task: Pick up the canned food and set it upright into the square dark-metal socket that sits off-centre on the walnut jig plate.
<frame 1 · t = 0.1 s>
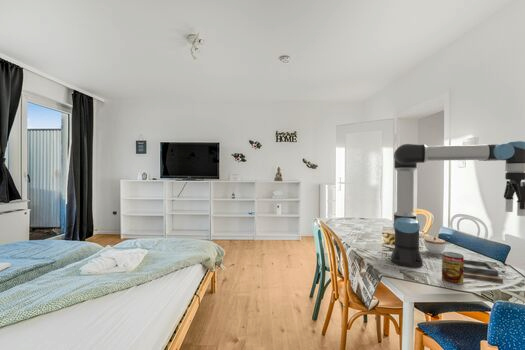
hand: (514, 213, 133), 28 cm above the table, tool pointing down, fingers open, 13 cm apart
lidded jar: (434, 252, 159), on the table
canned food: (452, 281, 119), on the table
jig: (471, 272, 128), on the table
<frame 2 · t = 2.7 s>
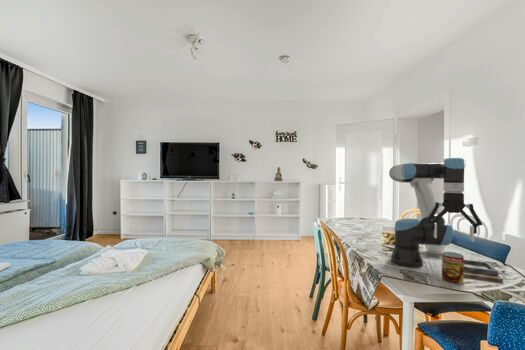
hand: (453, 239, 118), 19 cm above the table, tool pointing down, fingers open, 13 cm apart
nothing on the table moved.
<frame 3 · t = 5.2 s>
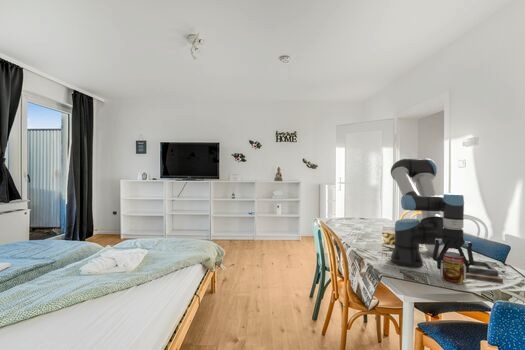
hand: (452, 277, 119), 1 cm above the table, tool pointing down, fingers closed on canned food, 8 cm apart
canned food: (452, 281, 119), on the table, touching gripper
everything else where it was.
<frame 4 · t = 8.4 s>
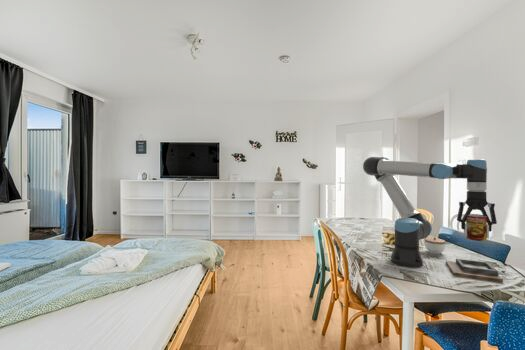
hand: (475, 236, 129), 17 cm above the table, tool pointing down, fingers closed on canned food, 8 cm apart
canned food: (475, 239, 129), point 16 cm above the table, touching gripper
everything else where it was.
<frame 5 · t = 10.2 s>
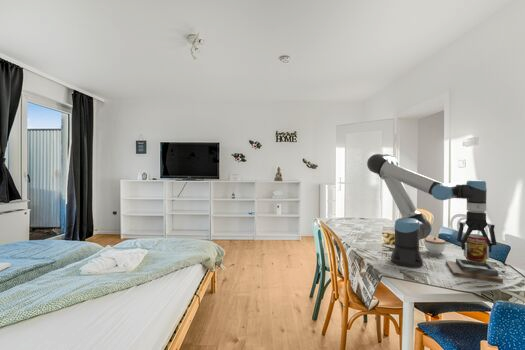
hand: (475, 257, 129), 7 cm above the table, tool pointing down, fingers closed on canned food, 8 cm apart
canned food: (475, 260, 129), point 6 cm above the table, touching gripper
everything else where it was.
when the fingers open (5 cm above the table, at t = 11.5 s): canned food drops 2 cm, resting on jig.
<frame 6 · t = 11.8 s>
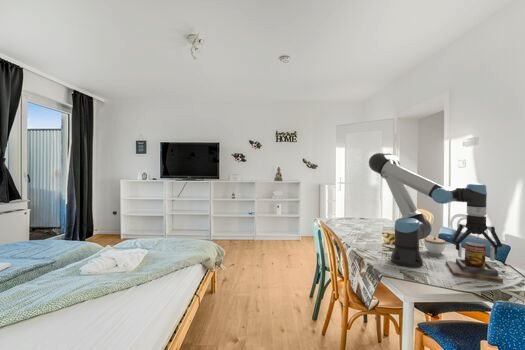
hand: (475, 258, 129), 6 cm above the table, tool pointing down, fingers open, 12 cm apart
canned food: (474, 268, 129), point 2 cm above the table, touching jig
everything else where it was.
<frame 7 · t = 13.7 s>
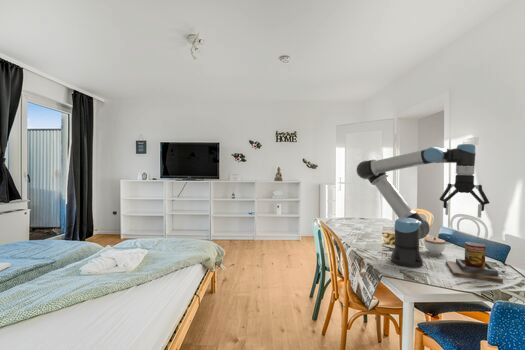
hand: (462, 216, 134), 27 cm above the table, tool pointing down, fingers open, 13 cm apart
nothing on the table moved.
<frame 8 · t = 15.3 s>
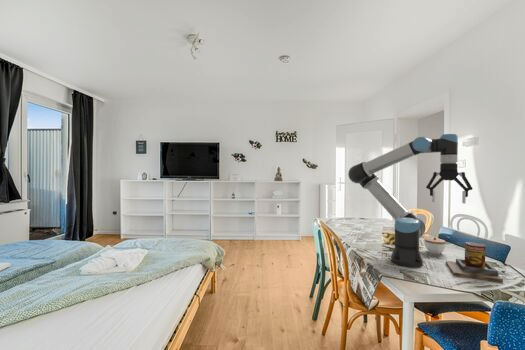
hand: (448, 202, 140), 33 cm above the table, tool pointing down, fingers open, 13 cm apart
nothing on the table moved.
at the end: canned food 0.4 cm from the target spot on the jig, point 1.5 cm above the jig's base; canned food tilted 0°; the gripper is holding nothing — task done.
